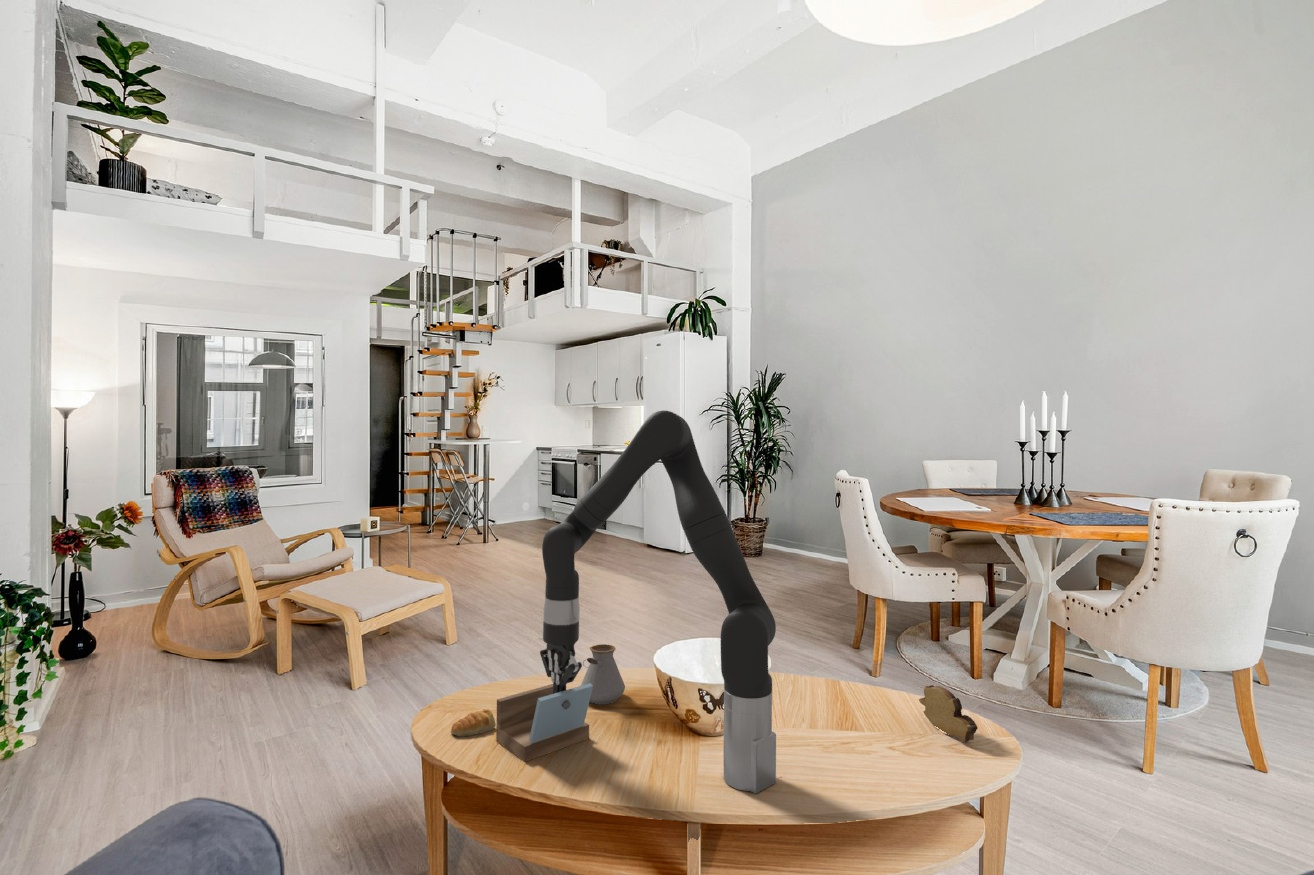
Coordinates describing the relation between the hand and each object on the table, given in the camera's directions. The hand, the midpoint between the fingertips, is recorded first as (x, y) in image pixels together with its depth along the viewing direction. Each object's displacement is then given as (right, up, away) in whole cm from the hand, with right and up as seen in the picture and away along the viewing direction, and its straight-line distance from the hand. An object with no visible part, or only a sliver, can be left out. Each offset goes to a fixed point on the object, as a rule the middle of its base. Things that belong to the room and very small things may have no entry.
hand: (559, 700), depth 135 cm
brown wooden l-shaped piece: (-4, -10, +4) cm, 12 cm away
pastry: (-20, -11, +9) cm, 25 cm away
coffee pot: (+6, -11, +23) cm, 26 cm away
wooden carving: (+86, -12, +10) cm, 88 cm away
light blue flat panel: (0, -7, 0) cm, 7 cm away
